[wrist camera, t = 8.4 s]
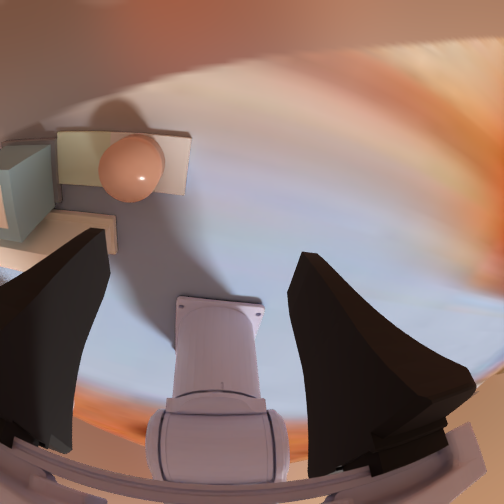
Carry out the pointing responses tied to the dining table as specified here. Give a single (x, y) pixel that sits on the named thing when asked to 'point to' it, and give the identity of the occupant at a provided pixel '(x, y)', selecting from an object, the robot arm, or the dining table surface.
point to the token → (131, 168)
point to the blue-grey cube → (24, 189)
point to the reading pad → (54, 160)
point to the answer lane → (96, 142)
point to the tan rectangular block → (55, 237)
